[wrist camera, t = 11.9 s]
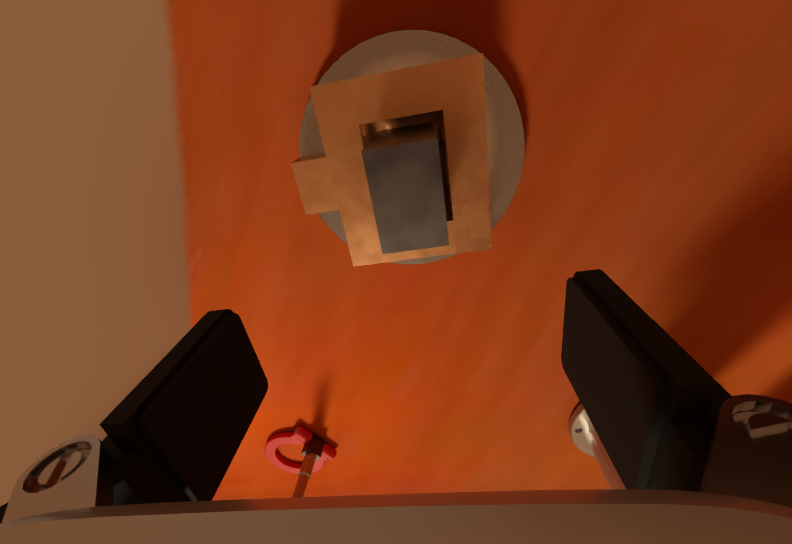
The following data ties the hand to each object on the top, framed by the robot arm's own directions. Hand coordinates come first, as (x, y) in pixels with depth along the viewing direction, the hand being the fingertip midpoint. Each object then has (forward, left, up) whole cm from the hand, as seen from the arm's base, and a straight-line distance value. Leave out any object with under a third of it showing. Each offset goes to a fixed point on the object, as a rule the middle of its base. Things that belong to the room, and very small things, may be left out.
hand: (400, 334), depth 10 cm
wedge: (0, -1, -21) cm, 21 cm away
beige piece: (0, -1, -22) cm, 22 cm away
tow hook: (+21, +35, -23) cm, 47 cm away
